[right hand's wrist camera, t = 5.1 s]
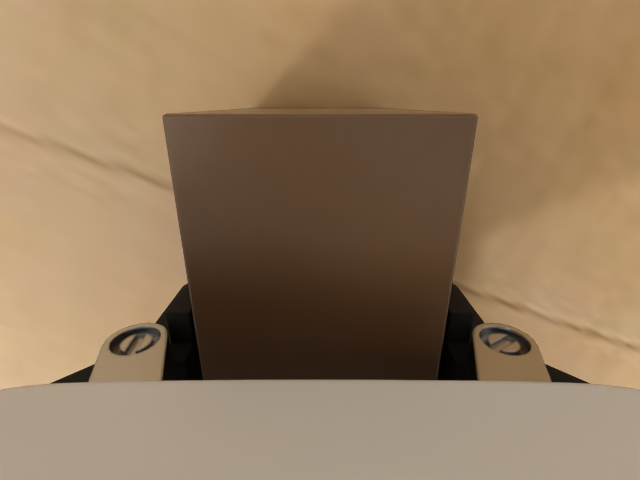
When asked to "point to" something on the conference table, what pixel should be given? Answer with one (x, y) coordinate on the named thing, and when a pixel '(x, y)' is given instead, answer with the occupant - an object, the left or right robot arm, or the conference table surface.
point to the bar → (320, 238)
